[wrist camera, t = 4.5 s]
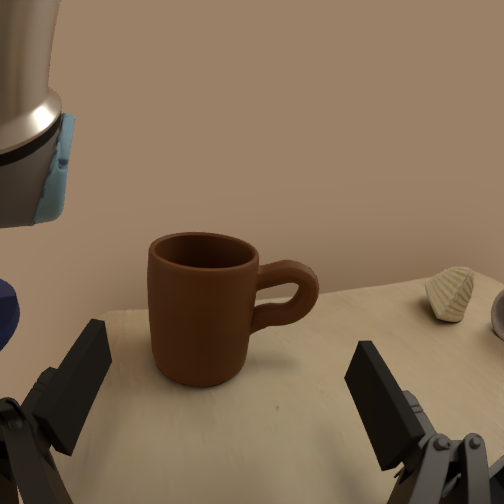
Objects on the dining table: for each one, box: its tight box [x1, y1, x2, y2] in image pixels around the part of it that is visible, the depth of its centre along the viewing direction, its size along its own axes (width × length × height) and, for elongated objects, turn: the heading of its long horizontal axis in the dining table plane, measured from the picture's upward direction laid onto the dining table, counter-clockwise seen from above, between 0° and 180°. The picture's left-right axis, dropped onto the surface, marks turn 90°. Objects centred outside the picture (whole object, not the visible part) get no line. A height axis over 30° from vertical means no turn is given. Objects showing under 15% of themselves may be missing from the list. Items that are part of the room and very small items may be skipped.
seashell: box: [425, 267, 474, 322], centre depth 33 cm, size 8×8×8 cm
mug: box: [147, 232, 319, 386], centre depth 21 cm, size 12×8×9 cm, turn 90°
